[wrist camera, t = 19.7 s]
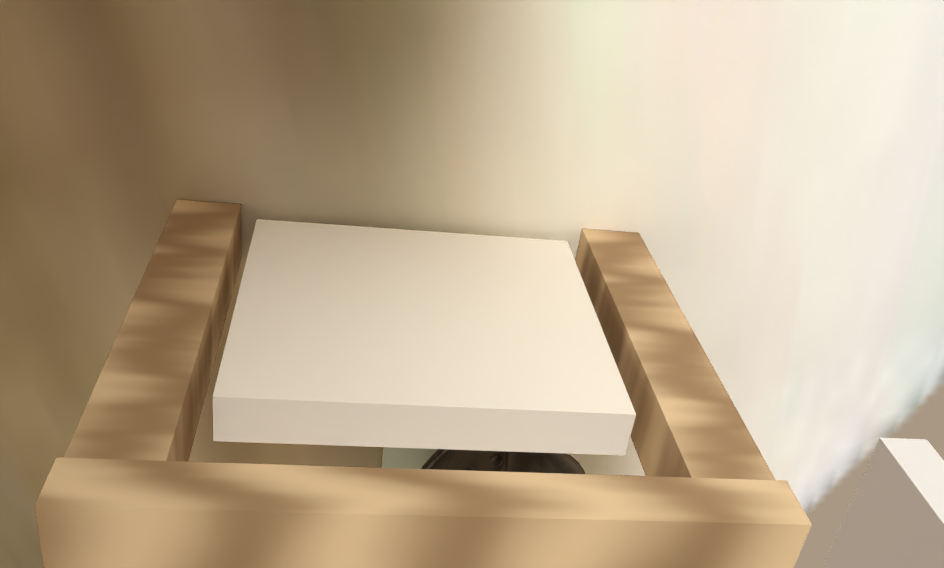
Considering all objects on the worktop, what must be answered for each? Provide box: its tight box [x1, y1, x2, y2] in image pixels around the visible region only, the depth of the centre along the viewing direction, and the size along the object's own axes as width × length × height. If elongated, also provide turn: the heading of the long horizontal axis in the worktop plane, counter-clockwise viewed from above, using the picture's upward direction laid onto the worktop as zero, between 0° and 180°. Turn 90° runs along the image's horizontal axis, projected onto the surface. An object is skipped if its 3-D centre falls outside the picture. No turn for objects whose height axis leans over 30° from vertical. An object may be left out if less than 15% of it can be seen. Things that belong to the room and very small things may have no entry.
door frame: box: [35, 200, 812, 568], centre depth 37 cm, size 23×4×21 cm, turn 83°
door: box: [213, 219, 636, 456], centre depth 39 cm, size 15×2×14 cm, turn 83°
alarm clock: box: [421, 449, 585, 474], centre depth 44 cm, size 11×5×16 cm, turn 134°
